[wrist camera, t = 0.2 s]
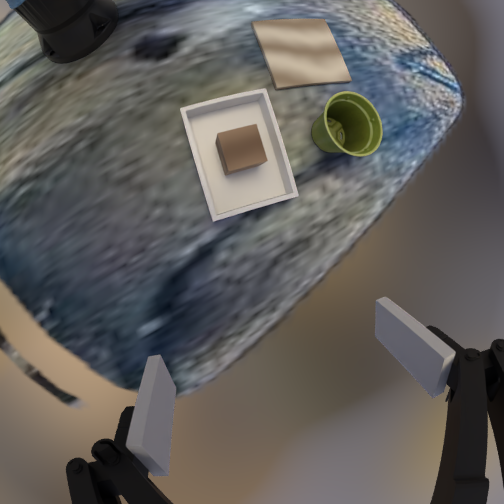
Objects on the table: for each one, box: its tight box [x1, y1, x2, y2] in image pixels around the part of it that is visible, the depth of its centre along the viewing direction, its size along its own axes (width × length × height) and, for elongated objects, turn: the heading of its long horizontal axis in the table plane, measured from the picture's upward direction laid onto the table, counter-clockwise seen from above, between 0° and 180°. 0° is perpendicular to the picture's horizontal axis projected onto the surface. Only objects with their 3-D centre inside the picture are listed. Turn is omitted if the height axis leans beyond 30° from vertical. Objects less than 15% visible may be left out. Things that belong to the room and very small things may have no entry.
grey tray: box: [180, 88, 299, 222], centre depth 37 cm, size 16×12×4 cm
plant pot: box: [312, 91, 382, 156], centre depth 37 cm, size 9×9×9 cm
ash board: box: [251, 19, 352, 90], centre depth 37 cm, size 14×14×1 cm
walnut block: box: [215, 124, 268, 175], centre depth 35 cm, size 5×5×6 cm
